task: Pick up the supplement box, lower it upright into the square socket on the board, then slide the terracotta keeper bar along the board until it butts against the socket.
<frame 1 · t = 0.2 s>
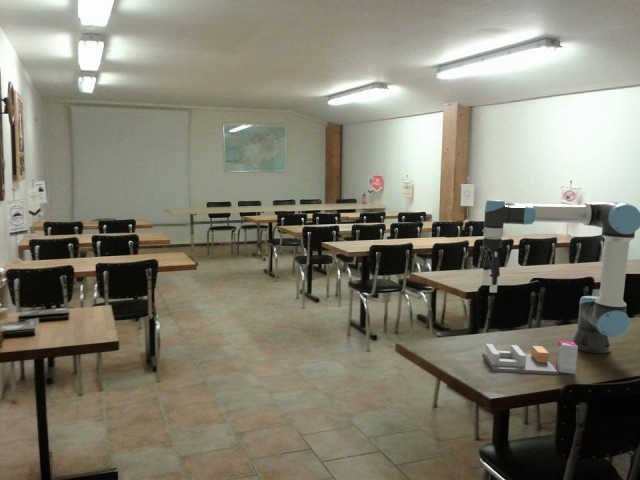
hand: (489, 288, 224), 28 cm above the table, fingers open, 13 cm apart
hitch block: (518, 363, 216), on the table
supplement box: (565, 372, 209), on the table
keeper: (539, 354, 218), point 4 cm above the table, slide at 0.0 cm
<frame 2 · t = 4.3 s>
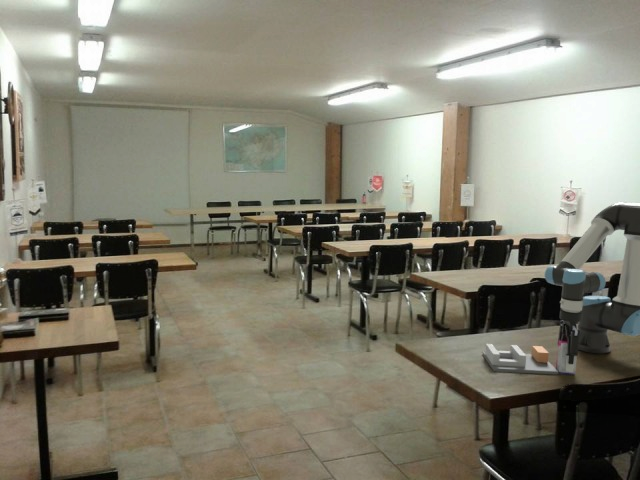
hand: (565, 368, 209), 1 cm above the table, fingers closed on supplement box, 6 cm apart
supplement box: (565, 372, 209), on the table, touching gripper
everything else where it was.
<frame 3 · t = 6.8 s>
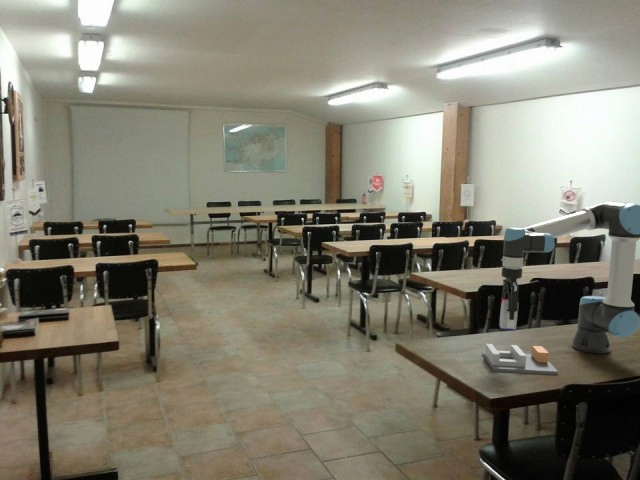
hand: (507, 324, 214), 16 cm above the table, fingers closed on supplement box, 6 cm apart
supplement box: (507, 328, 215), point 14 cm above the table, touching gripper
everything else where it was.
when the fingers open (5 cm above the table, at t = 9.6 s): supplement box drops 2 cm, resting on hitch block.
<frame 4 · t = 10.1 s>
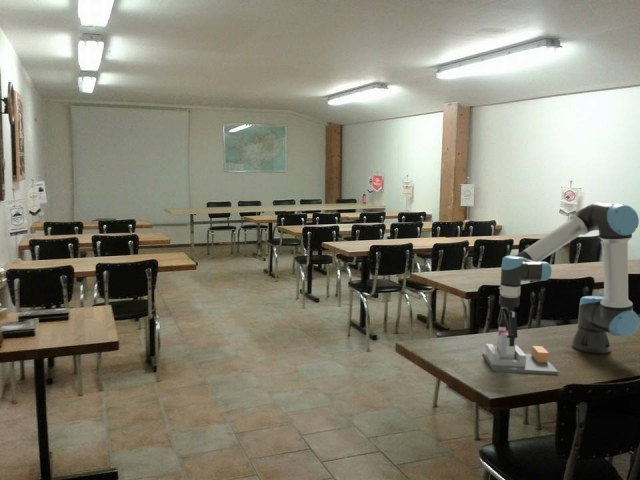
hand: (505, 347, 216), 6 cm above the table, fingers open, 13 cm apart
supplement box: (505, 360, 217), point 1 cm above the table, touching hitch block
everything else where it was.
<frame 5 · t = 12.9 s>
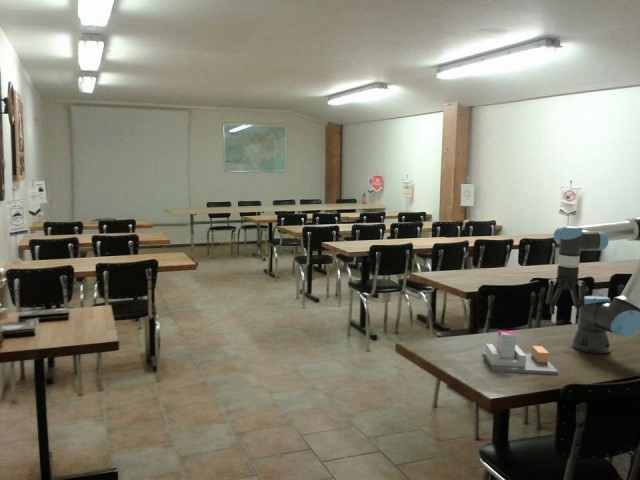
hand: (563, 322, 216), 17 cm above the table, fingers open, 7 cm apart
nothing on the table moved.
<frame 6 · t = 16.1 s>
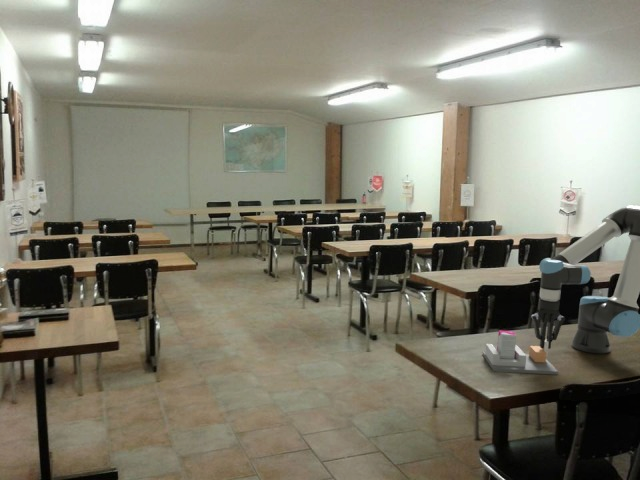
hand: (544, 356, 218), 3 cm above the table, fingers closed
keeper: (537, 353, 218), point 3 cm above the table, slide at 1.0 cm, touching gripper
everything else where it was.
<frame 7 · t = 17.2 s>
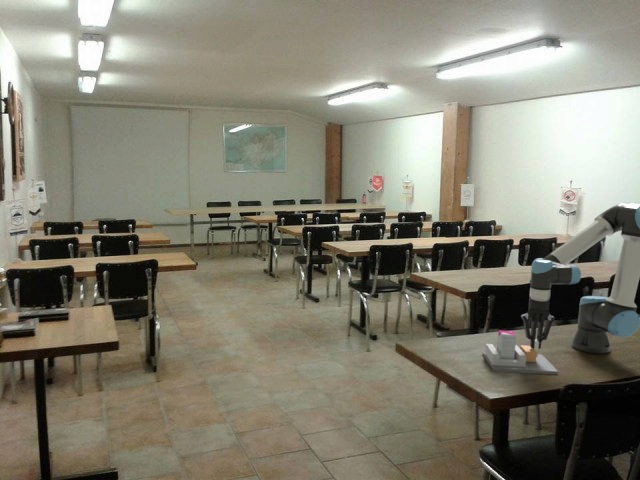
hand: (534, 355, 218), 3 cm above the table, fingers closed
keeper: (527, 353, 218), point 4 cm above the table, slide at 4.7 cm, touching gripper
everything else where it was.
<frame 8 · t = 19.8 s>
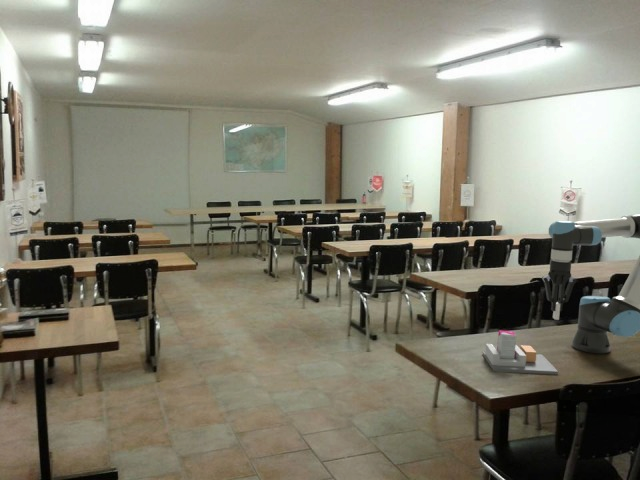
hand: (555, 318, 216), 18 cm above the table, fingers closed
keeper: (527, 353, 218), point 4 cm above the table, slide at 4.7 cm
everything else where it was.
at the end: supplement box 0.2 cm from the target spot on the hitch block, point 1.0 cm above the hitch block's base; supplement box tilted 0°; keeper slide at 4.7 cm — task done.
